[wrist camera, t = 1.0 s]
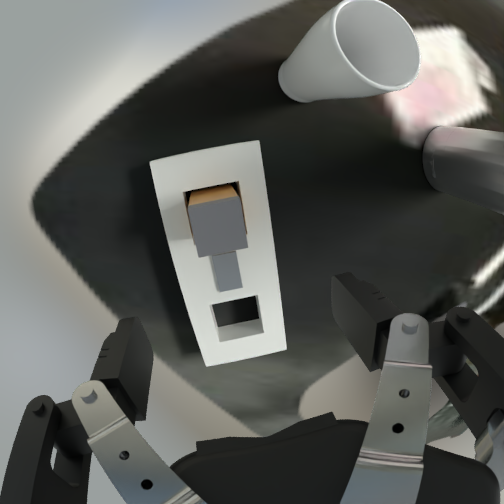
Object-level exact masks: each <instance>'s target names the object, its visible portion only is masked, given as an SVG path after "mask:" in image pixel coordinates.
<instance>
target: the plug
mask: <svg viewBox="0 0 504 504" xmlns="http://www.w3.org/2000/svg"><path fill="white" fill-rule="evenodd" d="M188 213H189V218H190V222H191V227H192V231H193V236H194V240H195V244H196V249H197V253H198V257H199V258H201V257H205V256H210V255H215V254H220V253H225V252H230V251H235V250H240V249H245V248H248V243H247V237H246V231H245V225H244V219H243V213H242V207H241V201H240V198H239V196H238V195H237V193H236V192H235V190H234V189H233V187H232V186H231V184H227V185H222V186H216V187H211V188H206V189H201V190H197V191H192V192H191V196H190V200H189V205H188Z"/></svg>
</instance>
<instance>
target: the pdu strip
mask: <svg viewBox="0 0 504 504" xmlns="http://www.w3.org/2000/svg"><path fill="white" fill-rule="evenodd" d="M150 167H151V172H152V176H153V181H154V186H155V190H156V195H157V199H158V204H159V208H160V212H161V216H162V220H163V224H164V228H165V232H166V236H167V240H168V244H169V248H170V252H171V255H172V259H173V263H174V266H175V270H176V273H177V277H178V280H179V284H180V287H181V291H182V294H183V297H184V301H185V304H186V307H187V310H188V314H189V317H190V320H191V323H192V326H193V329H194V332H195V335H196V338H197V341H198V344H199V347H200V350H201V353H202V356H203V359H204V362H205V364H206V366H212V365H217V364H223V363H228V362H233V361H238V360H243V359H247V358H252V357H257V356H261V355H265V354H270V353H274V352H278V351H282V350H286V349H287V348H286V339H285V330H284V321H283V313H282V304H281V296H280V288H279V280H278V272H277V264H276V256H275V248H274V241H273V233H272V226H271V219H270V211H269V204H268V197H267V190H266V183H265V176H264V169H263V163H262V156H261V149H260V143H259V140H255V141H247V142H241V143H235V144H229V145H223V146H217V147H212V148H207V149H202V150H197V151H192V152H187V153H182V154H178V155H173V156H169V157H165V158H160V159H156V160H153V161H150ZM230 182H236V185H237V191H238V196H239V198H240V201H241V207H242V213H243V219H244V225H245V231H246V237H247V243H248V248H245V249H240V250H235V251H230V252H225V253H220V254H215V255H210V256H205V257H201V258H199V257H198V253H197V249H196V244H195V240H194V236H193V231H192V227H191V222H190V218H189V213H188V202H187V197H186V192H185V191H190V190H195V189H200V188H204V187H209V186H215V185H220V184H225V183H230ZM250 296H255V297H256V303H257V308H258V314H259V319H255V320H250V321H246V322H241V323H236V324H231V325H226V326H221V327H218V326H217V323H216V319H215V315H214V311H213V308H212V304H216V303H221V302H226V301H231V300H236V299H241V298H245V297H250Z"/></svg>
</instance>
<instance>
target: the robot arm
mask: <svg viewBox="0 0 504 504" xmlns="http://www.w3.org/2000/svg"><path fill="white" fill-rule="evenodd" d="M423 168H424V172H425V175H426V178H427V180H428V182H429V183H430V185H431V186H432V187H433V188H434V189H436V190H438V191H441V192H444V193H447V194H450V195H453V196H455V197H458V198H461V199H464V200H467V201H469V202H472V203H475V204H477V205H480V206H483V207H485V208H488V209H491V210H493V211H496V212H498V213H501V214H503V215H504V132H497V131H489V130H481V129H471V128H462V127H448V126H440V127H436V128H435V129H433V130H432V131H431V132H430V133H429V135H428V137H427V139H426V141H425V144H424V148H423ZM331 297H332V313H333V317H334V319H335V321H336V323H337V324H338V326H339V327H340V329H341V330H342V332H343V333H344V334H345V336H346V337H347V339H348V340H349V342H350V343H351V345H352V346H353V347H354V349H355V350H356V352H357V353H358V355H359V356H360V358H361V359H362V361H363V362H364V364H365V365H366V367H367V368H368V370H369V371H370V372H371V371H374V370H376V369H379V368H380V369H381V370H382V374H381V378H380V383H379V387H378V391H377V395H376V399H375V403H374V407H373V411H372V414H371V418H370V421H369V423H368V422H365V421H359V420H348V419H347V420H346V419H345V420H336V418H335V416H334V414H333V412H329V413H326V414H323V415H320V416H317V417H313V418H310V419H306V420H303V421H300V422H298V423H296V424H294V425H292V426H290V427H288V428H286V429H284V430H281V431H279V432H277V433H275V434H273V435H271V436H268V437H256V438H255V437H226V438H220V439H212V440H205V441H197V442H196V447H197V451H195V452H193V453H190V454H188V455H186V456H184V457H182V458H181V459H179V460H178V461H176V462H175V463H173V464H172V465H171V466H170V467H169V466H168V465H167V464H166V463H165V462H164V461H163V460H162V459H161V458H160V457H159V455H158V454H157V453H156V452H155V451H154V450H153V449H152V447H151V446H150V445H149V444H148V443H147V442H146V440H145V439H144V438H143V437H142V436H141V434H140V433H139V432H138V431H137V429H136V428H135V427H134V426H135V421H143V420H146V411H147V403H148V395H149V387H150V380H151V373H152V366H153V351H152V347H151V344H150V342H149V340H148V338H147V335H146V333H145V331H144V328H143V326H142V323H141V321H140V319H139V318H138V317H132V318H126V319H121V320H120V321H119V323H118V326H117V328H116V331H115V332H113V333H111V334H110V335H109V336H108V337H107V338H106V339H105V341H104V343H103V345H102V348H101V351H100V353H99V356H98V357H99V358H98V359H97V361H96V364H95V367H94V370H93V373H92V376H91V379H90V381H87V382H85V383H83V384H81V385H80V386H78V387H77V388H76V390H75V391H74V392H73V394H72V399H71V400H68V401H65V402H62V403H58V404H55V402H54V401H53V400H52V399H51V397H49V396H46V395H41V396H38V397H36V398H34V399H33V400H31V401H30V402H29V404H28V405H27V407H26V409H25V412H24V415H23V417H22V420H21V423H20V426H19V429H18V432H17V435H16V438H15V441H14V444H13V447H12V451H11V454H10V458H9V461H8V465H7V469H6V473H5V477H4V481H3V486H2V491H1V495H0V504H87V493H88V482H89V481H88V480H89V472H90V463H91V455H92V452H93V453H94V454H95V456H96V458H97V460H98V461H99V463H100V465H101V466H102V468H103V469H104V471H105V473H106V474H107V476H108V477H109V479H110V480H111V482H112V483H113V485H114V486H115V488H116V489H117V491H118V492H119V494H120V495H121V496H122V498H123V499H124V501H125V502H126V503H127V504H500V491H501V490H503V489H504V338H503V337H502V336H501V335H499V333H498V332H496V331H495V330H494V329H493V328H492V327H491V326H490V325H489V324H488V323H487V322H486V321H484V320H483V319H482V318H481V317H480V316H479V315H478V314H477V313H476V312H474V311H473V310H471V309H469V308H465V307H455V308H452V309H450V310H449V311H448V312H447V315H446V319H445V321H440V322H433V323H428V322H427V321H426V320H425V319H424V318H423V317H421V316H419V315H416V314H411V313H406V314H404V313H403V312H402V311H400V310H399V309H398V308H397V307H396V306H395V305H394V304H393V303H392V302H391V301H390V300H389V299H388V298H386V296H385V295H384V294H383V293H382V292H381V293H380V290H378V289H377V288H376V287H375V286H374V285H373V284H371V283H368V282H366V281H364V280H362V281H359V280H358V279H357V278H356V277H355V276H354V275H353V274H352V273H350V272H347V273H343V274H339V275H335V276H332V279H331ZM467 358H468V359H469V360H470V361H471V362H472V363H473V364H474V365H475V367H476V368H477V370H478V374H479V377H478V376H477V375H476V374H475V373H474V371H473V370H472V369H471V368H470V367H469V366H468V364H467V363H466V359H467ZM432 378H434V379H435V380H436V382H437V383H438V384H439V386H440V387H441V389H442V390H443V392H444V393H445V394H446V396H447V397H448V398H449V400H450V401H451V403H452V404H453V406H454V407H455V408H456V410H457V411H458V413H459V414H460V416H461V417H462V419H463V420H464V422H465V423H466V424H467V426H468V427H469V429H470V430H471V432H472V433H473V435H474V436H475V438H476V441H475V446H474V447H475V452H476V454H475V459H471V458H467V457H464V456H460V455H457V454H454V453H451V452H447V451H444V450H441V449H438V448H435V447H432V446H429V445H426V444H425V440H426V433H427V426H428V418H429V408H430V397H431V382H432ZM53 447H54V448H56V449H57V453H56V458H55V464H54V469H53V470H52V467H51V463H50V460H51V454H52V450H53Z"/></svg>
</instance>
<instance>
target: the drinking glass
mask: <svg viewBox="0 0 504 504" xmlns="http://www.w3.org/2000/svg"><path fill="white" fill-rule="evenodd" d="M420 65H421V53H420V48H419V44H418V41H417V38H416V36H415V34H414V32H413V30H412V29H411V27H410V26H409V24H408V23H407V22H406V20H405V19H404V18H403V17H402V16H401V15H400V14H399V13H398V12H397V11H396V10H394V9H393V8H392V7H390V6H389V5H387V4H385V3H383V2H381V1H379V0H344V1H342V2H340V3H339V4H338V5H336V6H335V7H333V8H332V9H330V10H329V11H328V12H327V13H325V14H324V15H323V16H322V17H321V18H320V19H318V20H317V21H316V22H315V24H314V25H313V26H312V27H311V28H310V29H309V30H308V32H307V33H306V34H305V36H304V37H303V38H302V40H301V41H300V42H299V44H298V45H297V46H296V48H295V49H294V51H293V52H292V53H291V55H290V56H289V57H288V58H287V59H286V60H285V61H284V62H283V63H282V65H281V67H280V69H279V72H278V80H279V84H280V87H281V88H282V90H283V91H284V93H285V94H286V95H287V96H289V97H290V98H292V99H293V100H296V101H298V102H304V103H308V102H314V101H318V100H328V99H344V98H361V97H369V96H375V95H380V94H385V93H389V92H393V91H397V90H401V89H404V88H406V87H408V86H409V85H410V84H412V83H413V81H414V80H415V79H416V77H417V75H418V73H419V70H420Z"/></svg>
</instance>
